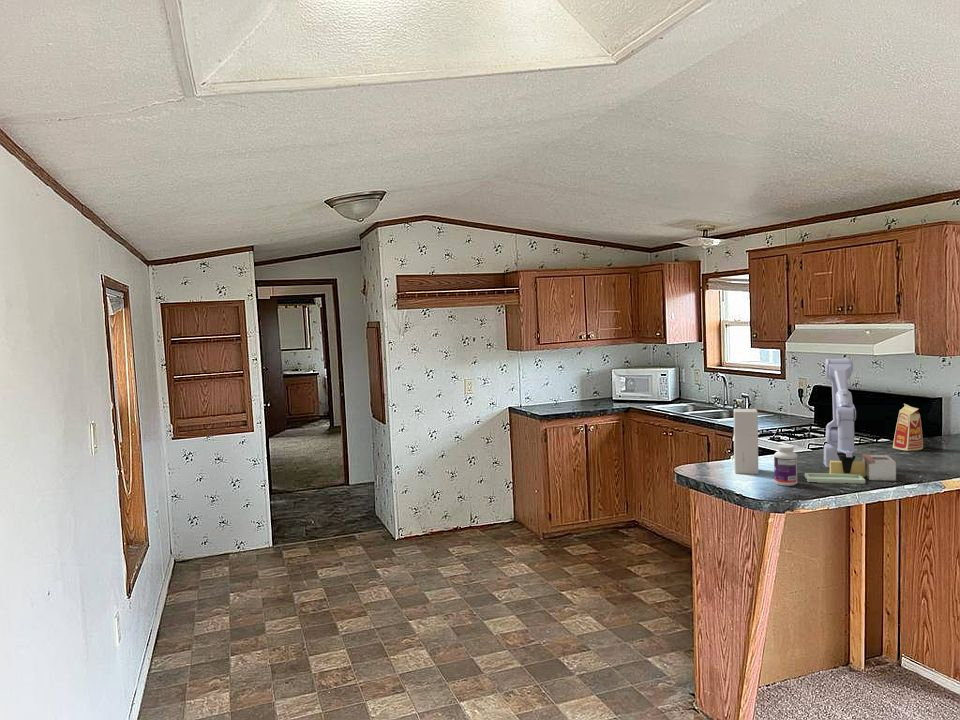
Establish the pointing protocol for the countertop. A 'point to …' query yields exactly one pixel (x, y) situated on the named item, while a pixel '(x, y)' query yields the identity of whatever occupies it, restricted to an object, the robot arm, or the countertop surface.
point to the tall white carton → (746, 441)
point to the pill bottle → (785, 466)
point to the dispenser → (879, 467)
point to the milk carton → (908, 430)
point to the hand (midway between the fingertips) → (845, 472)
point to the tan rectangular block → (856, 468)
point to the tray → (835, 478)
